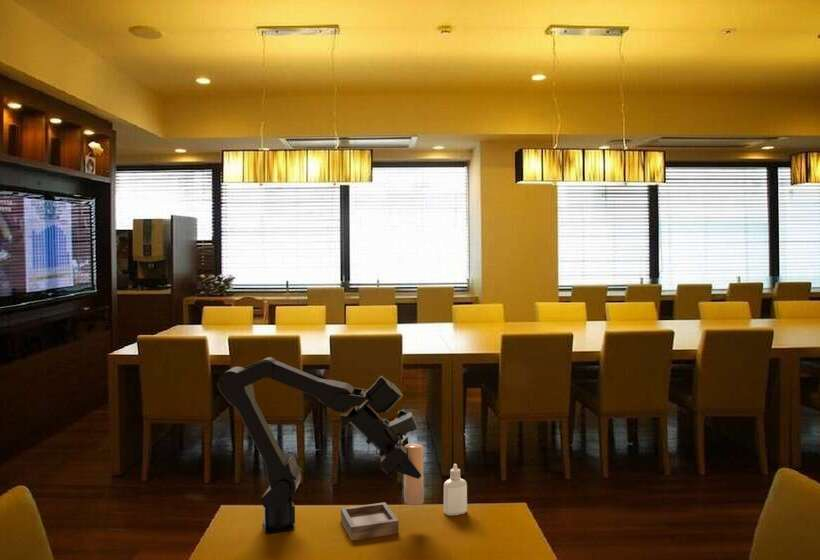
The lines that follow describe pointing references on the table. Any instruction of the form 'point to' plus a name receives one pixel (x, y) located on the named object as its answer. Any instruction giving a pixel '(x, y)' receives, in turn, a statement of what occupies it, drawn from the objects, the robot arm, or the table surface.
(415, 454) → the peach tall rounded piece
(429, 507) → the table surface
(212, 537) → the table surface
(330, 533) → the table surface
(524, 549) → the table surface
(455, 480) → the eye dropper bottle
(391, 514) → the square wooden tray
